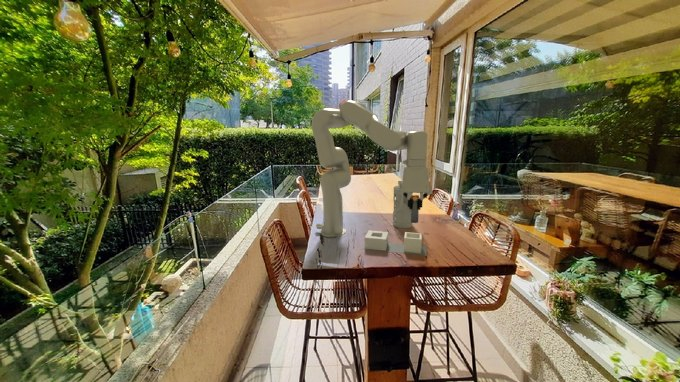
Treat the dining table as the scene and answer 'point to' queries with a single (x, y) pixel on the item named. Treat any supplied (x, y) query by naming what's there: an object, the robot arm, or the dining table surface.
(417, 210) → the lock pin
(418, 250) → the dock board
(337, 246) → the dining table surface
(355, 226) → the dining table surface
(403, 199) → the lantern
